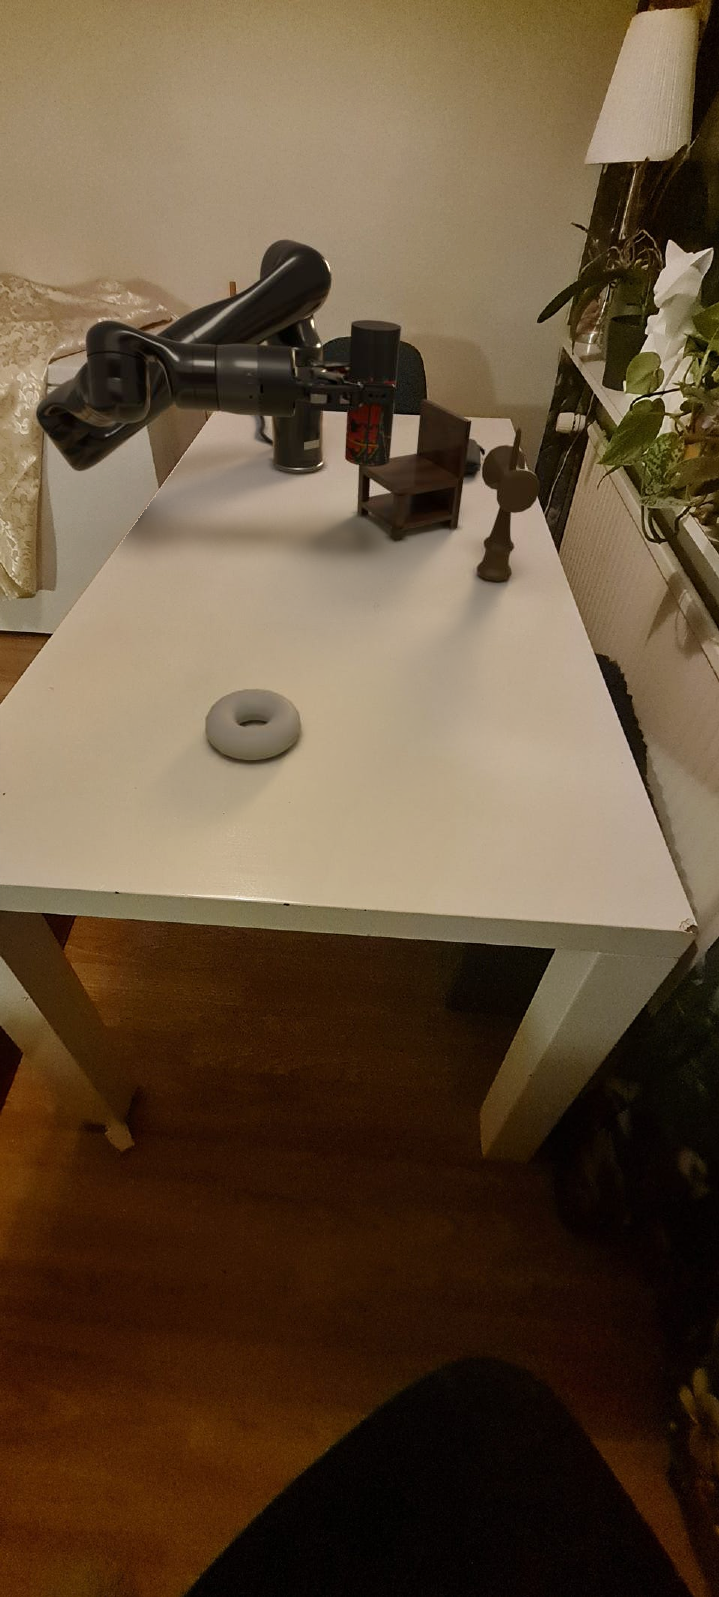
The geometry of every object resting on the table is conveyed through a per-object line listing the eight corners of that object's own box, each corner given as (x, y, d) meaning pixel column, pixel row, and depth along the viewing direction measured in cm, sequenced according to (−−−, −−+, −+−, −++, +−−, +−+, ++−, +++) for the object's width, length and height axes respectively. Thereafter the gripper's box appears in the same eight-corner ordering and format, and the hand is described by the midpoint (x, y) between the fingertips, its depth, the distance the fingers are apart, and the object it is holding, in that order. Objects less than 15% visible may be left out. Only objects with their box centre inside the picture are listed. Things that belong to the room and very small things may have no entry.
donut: (278, 777, 71) (315, 719, 77) (276, 751, 68) (315, 693, 75) (189, 754, 73) (232, 698, 80) (184, 728, 70) (229, 673, 77)
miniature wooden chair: (357, 513, 118) (360, 407, 107) (417, 501, 123) (426, 398, 111) (395, 541, 111) (403, 431, 100) (457, 527, 115) (471, 420, 104)
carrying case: (485, 480, 131) (483, 453, 141) (487, 462, 129) (485, 436, 139) (427, 475, 131) (430, 449, 142) (429, 458, 129) (431, 432, 140)
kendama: (506, 560, 107) (533, 416, 93) (521, 591, 100) (553, 440, 86) (467, 560, 107) (488, 415, 93) (479, 591, 100) (505, 439, 86)
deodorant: (338, 452, 95) (343, 319, 85) (377, 449, 97) (387, 319, 87) (355, 467, 91) (363, 330, 81) (397, 464, 93) (409, 329, 83)
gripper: (259, 398, 95) (383, 404, 96) (255, 431, 84) (395, 438, 86) (257, 332, 89) (388, 340, 91) (252, 359, 79) (401, 367, 81)
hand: (391, 387), depth 88 cm, fingers closed on deodorant, 6 cm apart
